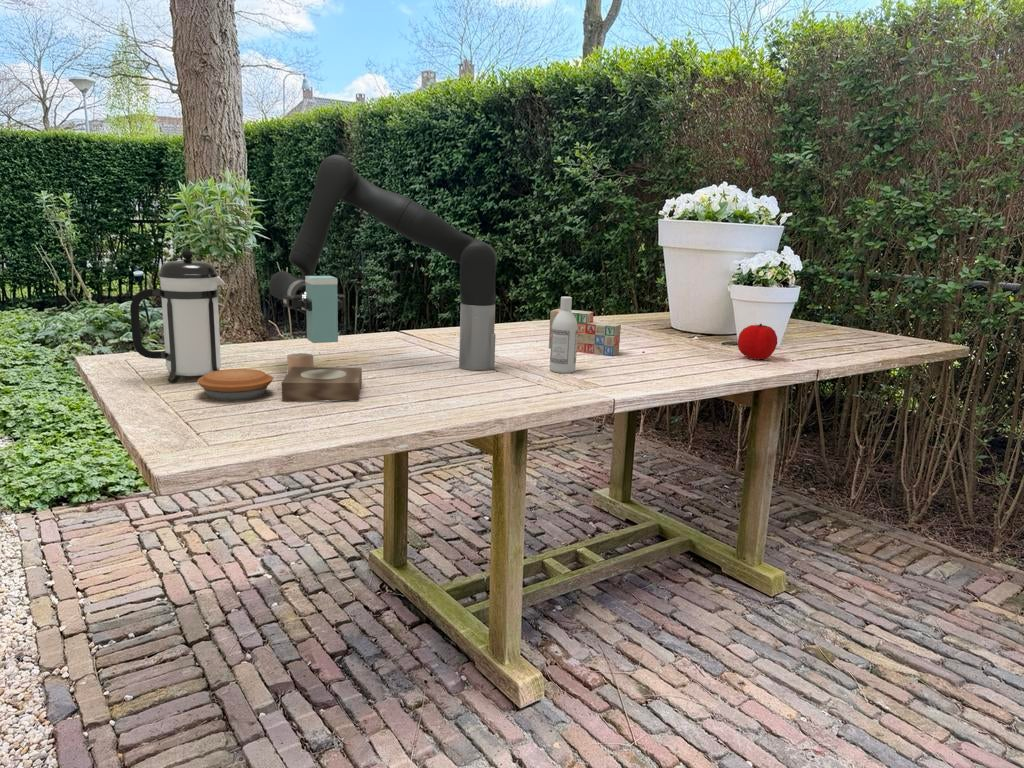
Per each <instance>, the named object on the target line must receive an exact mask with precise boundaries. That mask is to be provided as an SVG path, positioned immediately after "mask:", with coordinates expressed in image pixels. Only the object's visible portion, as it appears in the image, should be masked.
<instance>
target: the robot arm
mask: <svg viewBox="0 0 1024 768" xmlns="http://www.w3.org/2000/svg"><path fill="white" fill-rule="evenodd" d="M316 175H317V176H316V180H315V184H314V189H313V193H312V197H311V199H310V203H309V205H308V209H307V212H306V214H305V217H304V219H303V221H302V222H303V223H302V225H301V227H300V229H299V231H298V234H297V237H296V239H295V241H294V243H293V245H292V248H291V251H290V253H289V256H288V261H289V262H290V263H291V264H292V265H293V266H295V267H296V268H297V269H299V271H300V272H301V277H299V276H297V275H295V274H292V273H290V272H287V271H284V270H281V271H277V272H276V273H274V274H273V275H272V277H271V278H270V280H269V284H268V289H269V292H270V294H271V295H272V296H273V298H276V299H279V300H281V301H282V302H283V308H287V309H290V310H295V311H296V310H297V311H299V312H301V313H303V314H305V315H306V310H308V311H312V301H311V300H309V299H307V298H306V282H305V276H315V273H316V269H317V268H316V267H317V264H318V262H319V260H320V257H321V255H322V254H323V250H324V247H325V245H326V242H327V238H328V234H329V231H330V225H331V222H332V219H333V215H334V213H335V209H336V207H337V205H338V203H339V201H343V202H345V203H348V204H350V205H351V206H354V207H356V208H358V209H361V211H364V212H366V213H367V214H369V215H371V216H372V217H373V218H374V219H376V220H377V221H378V222H380V223H381V224H383V225H385V226H386V227H388V228H389V229H391V230H393V231H395V232H396V233H397V234H399V235H401V236H403V237H404V238H405V239H408V240H410V241H411V242H414V243H416V244H419V245H420V246H424V247H426V248H428V249H432V250H433V251H437V252H440V253H441V254H443V255H445V256H446V257H449V258H450V259H452V260H453V261H454V262H455V263H458V264H459V294H460V307H459V308H460V311H459V313H460V315H459V316H460V317H459V319H460V321H459V351H458V353H459V356H458V357H459V359H458V361H459V364H458V366H459V368H461V369H464V370H469V371H488V370H495V365H496V364H495V363H496V362H495V361H496V360H495V359H496V333H495V326H496V325H495V324H496V299H497V298H496V296H497V295H496V273H497V271H496V270H497V269H496V268H497V265H498V254H497V252H496V250H495V248H494V247H493V246H492V245H491V244H489V243H487V242H484V241H482V240H479V239H478V238H477V239H476V238H475V237H472V236H471V235H469V234H466V233H465V232H462V231H461V230H459V229H457V228H455V227H454V226H452V225H451V224H450V223H448V222H446V221H445V220H444V219H443V218H441V217H440V216H439V215H437V214H436V213H434V212H432V210H429V209H428V208H427V207H424V206H423V205H422V204H419V203H418V202H416V201H415V200H413V199H411V198H409V197H408V196H405V195H403V194H400V193H397V192H393V191H390V190H388V189H384V188H382V187H379V186H377V185H375V184H374V183H372V182H371V181H369V180H368V179H366V178H364V177H363V175H361V174H359V173H358V172H357V171H356V170H355V167H354V166H353V164H352V162H351V161H350V160H349V159H348V158H346V157H345V156H344V155H340V154H331V155H329V156H327V157H325V158H324V159H322V161H321V162H320V165H319V167H318V172H317V174H316ZM337 302H338V311H341V309H345V308H346V296H345V295H344V294H342V293H337Z"/></svg>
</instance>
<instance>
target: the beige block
mask: <svg viewBox="0 0 1024 768" xmlns="http://www.w3.org/2000/svg"><path fill="white" fill-rule="evenodd" d="M286 358H287V359H286V362H287V373H288V372H289V371H290V369H291V368H292V367H315V366H314V355H313V354H310V353H304V352H303V353H302V352H301V353H290V354H287V356H286Z"/></svg>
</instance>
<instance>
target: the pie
mask: <svg viewBox="0 0 1024 768" xmlns="http://www.w3.org/2000/svg"><path fill="white" fill-rule="evenodd" d="M273 380H274V376H272V375H270V374H268V373H266V372H265V371H262V370H258V369H252V368H230V369H219V371H214V372H210V373H208V374H206V375H201V377H199V378H198V379H197V384H198V385H199V386H200V387H201V388H202V389H203V390H204V391H205V393H206V394H207V396H208V397H209V398H211V399H213V400H216V401H226V402H236V401H237V402H238V401H246V400H247V401H248V400H253V399H256V398H260V397H262V396H263V395H264V394H265V391H266V390H267V388H268V387H269V385H271V383H272V382H273Z"/></svg>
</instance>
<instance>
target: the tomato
mask: <svg viewBox="0 0 1024 768" xmlns="http://www.w3.org/2000/svg"><path fill="white" fill-rule="evenodd" d="M777 345H778V336H777V333H776V330H775V329H773V328H772V327H771V326H769V325H764V324H763V323H759V324H756V323H754V324H751V325H748V326H746V327H744V328H742V329H741V331H740V333H739V335H738V339H737V347H738V350H739V352H740V354H742V355H743V356H745V357H746V358H748V359H752V358H753V360H757V359H763V360H766V359H769V358H770V357H771V356H772V354H774V352H775V351H776V348H777Z"/></svg>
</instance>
